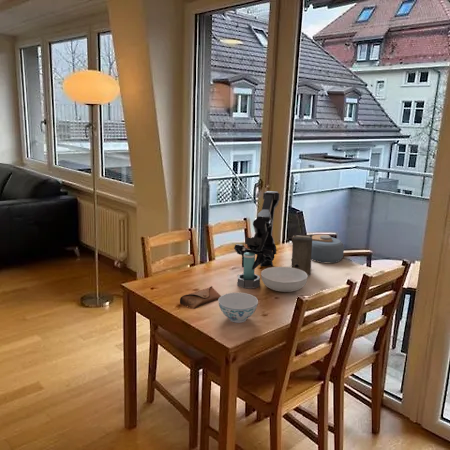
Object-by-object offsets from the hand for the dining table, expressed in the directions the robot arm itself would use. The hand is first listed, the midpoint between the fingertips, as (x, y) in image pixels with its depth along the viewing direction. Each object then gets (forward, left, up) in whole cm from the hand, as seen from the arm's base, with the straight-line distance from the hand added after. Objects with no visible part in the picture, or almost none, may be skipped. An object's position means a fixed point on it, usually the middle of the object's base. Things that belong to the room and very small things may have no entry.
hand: (247, 268), depth 204 cm
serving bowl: (+2, +16, -8) cm, 19 cm away
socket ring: (-1, +1, -8) cm, 8 cm away
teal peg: (-1, +1, -7) cm, 7 cm away
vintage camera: (-21, +27, -8) cm, 35 cm away
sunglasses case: (+18, -19, -9) cm, 28 cm away
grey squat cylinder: (-43, +43, -8) cm, 61 cm away
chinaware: (+35, -4, -8) cm, 36 cm away
